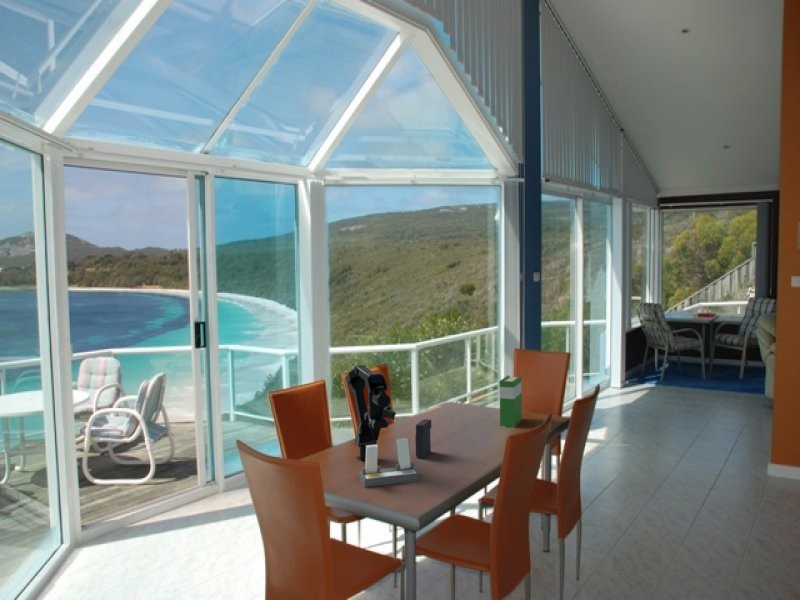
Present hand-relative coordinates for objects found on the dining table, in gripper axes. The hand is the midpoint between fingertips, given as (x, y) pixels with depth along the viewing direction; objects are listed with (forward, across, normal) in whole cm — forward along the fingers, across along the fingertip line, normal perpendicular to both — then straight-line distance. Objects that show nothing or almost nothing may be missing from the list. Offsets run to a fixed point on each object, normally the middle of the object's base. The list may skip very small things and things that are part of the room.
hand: (376, 439), depth 267 cm
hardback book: (+12, +48, -85) cm, 98 cm away
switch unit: (+12, -15, -1) cm, 19 cm away
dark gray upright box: (+12, +11, -24) cm, 29 cm away
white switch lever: (+9, -15, +6) cm, 18 cm away
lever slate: (+8, -15, -8) cm, 19 cm away
